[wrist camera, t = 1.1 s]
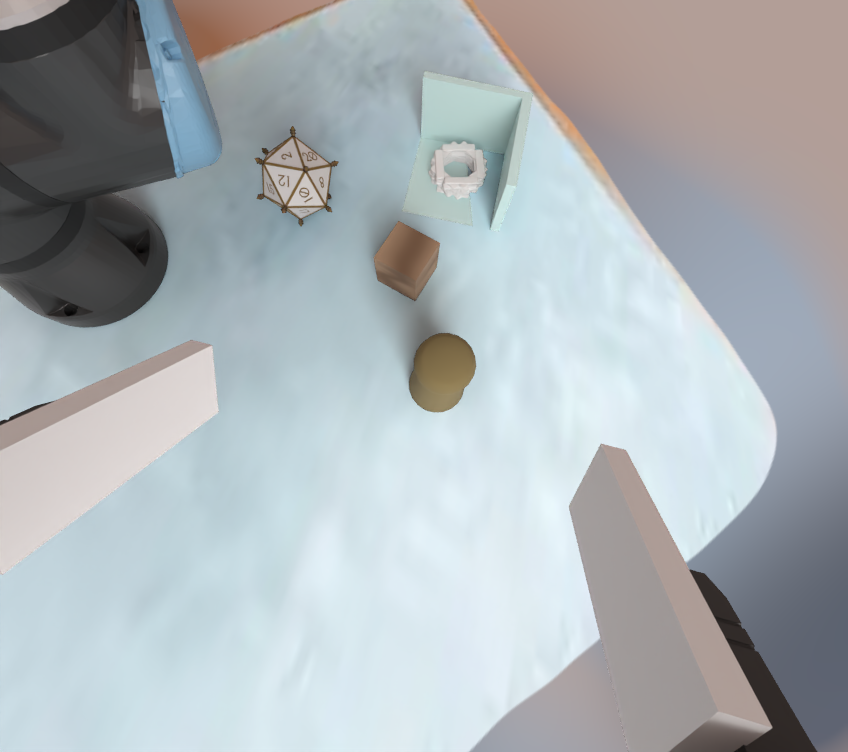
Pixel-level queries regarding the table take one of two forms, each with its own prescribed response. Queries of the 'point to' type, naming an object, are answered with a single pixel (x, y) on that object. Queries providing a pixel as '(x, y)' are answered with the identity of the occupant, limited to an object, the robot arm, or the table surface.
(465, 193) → the l-shaped corner panel
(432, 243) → the walnut block
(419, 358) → the cork
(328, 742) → the table surface
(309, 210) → the game die
